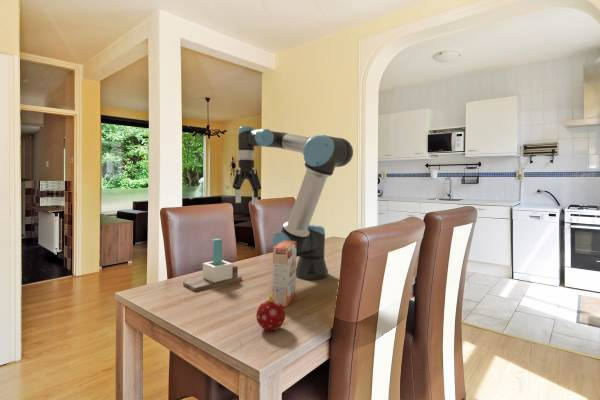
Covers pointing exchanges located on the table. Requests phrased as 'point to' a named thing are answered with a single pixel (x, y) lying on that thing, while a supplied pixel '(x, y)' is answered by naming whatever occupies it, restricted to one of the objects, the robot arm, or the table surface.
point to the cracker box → (284, 272)
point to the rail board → (205, 284)
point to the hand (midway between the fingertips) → (246, 203)
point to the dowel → (217, 252)
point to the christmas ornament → (270, 314)
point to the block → (217, 271)
